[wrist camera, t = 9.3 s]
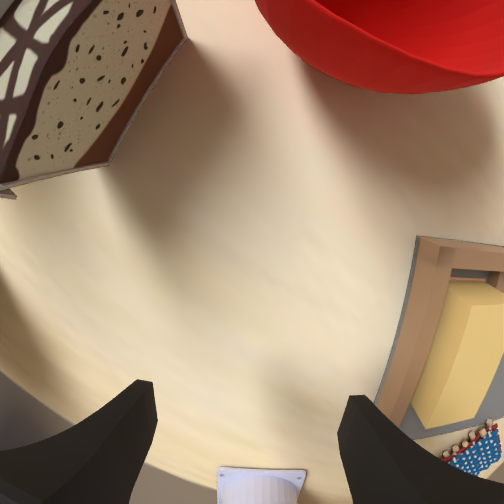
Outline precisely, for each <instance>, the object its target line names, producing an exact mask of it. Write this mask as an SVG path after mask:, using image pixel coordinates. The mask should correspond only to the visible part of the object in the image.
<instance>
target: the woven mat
mask: <svg viewBox="0 0 504 504" xmlns="http://www.w3.org/2000/svg"><path fill="white" fill-rule="evenodd" d="M486 424H487V429H485V428H482V429H481V430H480V431H479V433H478V434H477V436H476V435H475V432H470V433H469V436H470V439H471V442H470V443H468V442H467V441H463V442H462V446H463V448H461V449H460V450H459V447H458V446H456V445H455V446H454V447H453V454H452V455H451V456H450V454H449V452H448V451H445V452H444V453H443V456H444V457H445V458H443V459H441V460H442V461H444V462H446V461H447V462H446V463H448V464H450V465H452V466H454V467H456V468H458V469H460V470H462V471H464V472H467V473H469V474H472V475H475V476H478V474H479V473H481V472H482V470H487V469H488V468H489V466H490V465H491V466H492V465H493V463H495V462H497V461H498V460H499V459H500V457H501V454H500V453H502V451H501V448H500V447H501V444H499V443H500V438H499V435H498V434H497V432H499V431H498V429H496V428H497V427H498V425H497V423H496V424H495V425H493V423H492V419H488V420H487V422H486ZM487 432H488V433H487ZM479 437H480V439H479ZM478 439H479V440H478ZM481 443H482V444H481ZM480 467H481V468H480Z"/></svg>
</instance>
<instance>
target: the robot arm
mask: <svg viewBox="0 0 504 504" xmlns="http://www.w3.org/2000/svg"><path fill="white" fill-rule="evenodd" d="M157 422H158V419H157V412H156V405H155V397H154V389H153V382H149V381H144V380H138V379H137V380H136V381H134V382H133V383H132V384H131V385H129V386H128V387H127V388H126V389H125V390H123V391H122V392H121V393H120V394H118V395H117V396H116V397H115V398H113V399H112V400H111V401H110V402H108V403H107V404H106V405H104V406H103V407H102V408H100V409H99V410H98V411H96V412H95V413H93V414H92V415H90V416H89V417H87V418H86V419H84V420H83V421H81V422H80V423H78V424H76V425H74V426H73V427H71V428H69V429H67V430H65V431H63V432H61V433H59V434H57V435H55V436H52V437H49V438H47V439H45V440H42V441H39V442H37V443H33V444H30V445H27V446H23V447H19V448H16V449H11V450H5V451H0V504H129V500H130V496H131V493H132V490H133V487H134V485H135V482H136V480H137V477H138V475H139V473H140V470H141V468H142V465H143V463H144V461H145V458H146V456H147V453H148V451H149V449H150V446H151V444H152V441H153V437H154V433H155V429H156V426H157ZM337 434H338V442H339V450H340V456H341V459H342V463H343V467H344V470H345V474H346V478H347V481H348V485H349V488H350V492H351V495H352V499H353V504H504V484H503V483H498V482H495V481H491V480H487V479H483V478H480V477H477V476H475V475H472V474H469V473H467V472H464V471H462V470H460V469H458V468H456V467H454V466H452V465H450V464H448V463H446V462H444V461H442V460H441V459H439V458H437V457H436V456H434V455H433V454H431V453H430V452H428V451H426V450H425V449H424V448H422V447H421V446H419V445H418V444H417V443H416V442H414V441H413V440H412V439H411V438H409V437H408V436H407V435H406V434H405V433H404V432H402V431H401V430H400V429H399V428H398V427H397V426H396V425H395V424H394V423H393V422H392V421H390V420H389V419H388V418H387V417H386V416H385V415H384V414H383V413H382V412H381V411H380V410H379V409H378V408H377V407H376V406H375V405H374V404H373V403H372V402H371V401H370V400H369V399H368V398H367V397H366V396H365V395H351V396H349V399H348V402H347V405H346V408H345V412H344V415H343V418H342V421H341V423H340V426H339V429H338V432H337ZM305 477H306V471H305V470H265V469H245V468H231V467H219V468H218V469H217V496H218V497H217V500H218V504H297V499H298V496H299V494H300V491H301V488H302V485H303V483H304V480H305Z"/></svg>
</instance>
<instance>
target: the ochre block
mask: <svg viewBox="0 0 504 504" xmlns="http://www.w3.org/2000/svg"><path fill="white" fill-rule="evenodd" d="M503 353H504V293H502V292H501V291H499V290H497V289H496V288H494V287H492V286H491V285H489V284H487V283H485V282H484V281H482V280H449V283H448V288H447V292H446V296H445V300H444V304H443V307H442V311H441V315H440V318H439V322H438V325H437V329H436V332H435V335H434V338H433V341H432V345H431V348H430V351H429V354H428V357H427V359H426V362H425V365H424V368H423V371H422V373H421V376H420V379H419V381H418V384H417V386H416V389H415V391H414V394H413V396H412V399H411V401H410V403H411V405H412V407H413V408H414V410H415V412H416V414H417V415H418V417H419V419H420V421H421V422H422V424H423V426H424V428H425V429H429V428H434V427H438V426H443V425H447V424H452V423H456V422H460V421H464V420H467V419H471V418H474V417H475V415H476V413H477V411H478V409H479V407H480V405H481V403H482V401H483V399H484V397H485V395H486V393H487V390H488V388H489V386H490V384H491V382H492V379H493V377H494V375H495V373H496V370H497V368H498V365H499V363H500V360H501V358H502V355H503Z"/></svg>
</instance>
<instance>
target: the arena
mask: <svg viewBox="0 0 504 504" xmlns="http://www.w3.org/2000/svg"><path fill="white" fill-rule="evenodd" d="M449 280H482V281H484V282H485V283H487V284H489V285H491V286H492V287H494V288H496V289H497V290H499V291H501V292H502V293H504V246H497V245H489V244H482V243H474V242H466V241H459V240H450V239H442V238H434V237H425V236H416V242H415V249H414V254H413V260H412V265H411V271H410V276H409V281H408V285H407V290H406V295H405V299H404V303H403V308H402V312H401V316H400V320H399V324H398V328H397V331H396V335H395V339H394V342H393V346H392V349H391V353H390V356H389V359H388V363H387V366H386V369H385V372H384V375H383V378H382V381H381V384H380V387H379V390H378V393H377V396H376V399H375V401H374V405H375V406H376V407H377V408H378V409H379V410H380V411H381V412H382V413H383V414H384V415H385V416H386V417H387V418H388V419H389V420H390V421H392V422H393V423H394V424H395V425H396V426H397V427H398V428H399V429H400V430H401V431H402V432H404V433H405V434H406V435H407V436H408V437H409V438H411V439H412V440H416V439H421V438H427V437H432V436H436V435H441V434H446V433H450V432H454V431H458V430H462V429H466V428H470V427H473V426H477V425H480V424H484V423H486V422H487V420H488V419H492V421H494V420H497V419H500V418H503V417H504V353H503V355H502V358H501V360H500V363H499V365H498V368H497V370H496V373H495V375H494V377H493V379H492V382H491V384H490V386H489V388H488V390H487V393H486V395H485V397H484V399H483V401H482V403H481V405H480V407H479V409H478V411H477V413H476V415H475V417H474V418H471V419H467V420H464V421H460V422H456V423H452V424H447V425H443V426H438V427H434V428H429V429H425V428H424V426H423V424H422V422H421V421H420V419H419V417H418V415H417V414H416V412H415V410H414V408H413V407H412V405H411V403H410V401H411V399H412V396H413V394H414V391H415V389H416V386H417V384H418V381H419V379H420V376H421V373H422V371H423V368H424V365H425V362H426V359H427V357H428V354H429V351H430V348H431V345H432V341H433V338H434V335H435V332H436V329H437V325H438V322H439V318H440V315H441V311H442V307H443V304H444V300H445V296H446V292H447V288H448V283H449Z"/></svg>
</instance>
